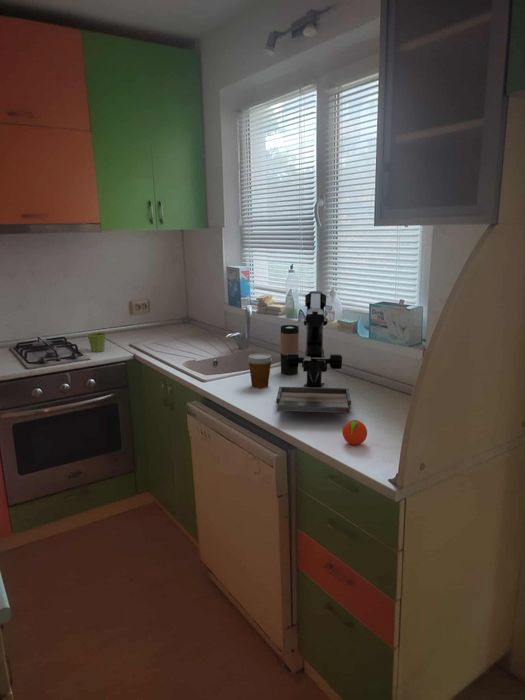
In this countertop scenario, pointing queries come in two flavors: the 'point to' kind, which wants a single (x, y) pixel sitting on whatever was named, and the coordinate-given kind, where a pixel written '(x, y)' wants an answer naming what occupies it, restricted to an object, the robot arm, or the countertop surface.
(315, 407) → the panel
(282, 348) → the travel mug
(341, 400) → the tray
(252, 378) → the disposable coffee cup
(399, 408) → the countertop surface
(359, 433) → the clementine
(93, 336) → the plant pot
